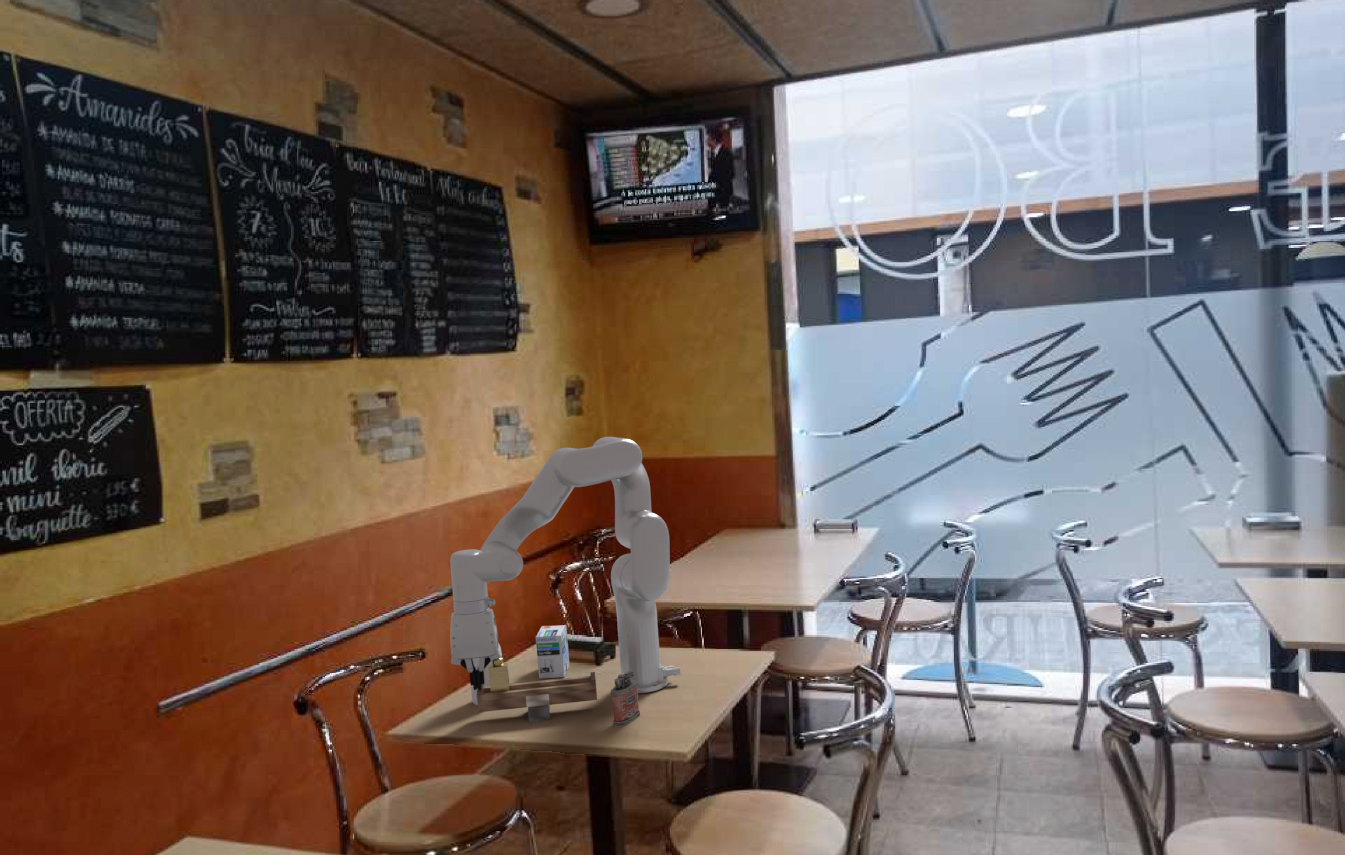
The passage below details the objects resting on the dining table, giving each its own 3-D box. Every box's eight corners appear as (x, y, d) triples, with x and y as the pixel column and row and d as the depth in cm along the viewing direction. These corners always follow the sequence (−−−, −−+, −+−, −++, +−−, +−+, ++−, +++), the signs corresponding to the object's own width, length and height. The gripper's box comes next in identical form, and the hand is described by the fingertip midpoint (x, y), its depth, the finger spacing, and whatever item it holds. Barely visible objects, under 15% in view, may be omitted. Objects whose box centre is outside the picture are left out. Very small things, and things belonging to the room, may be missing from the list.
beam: (597, 702, 228) (594, 670, 227) (598, 714, 220) (595, 681, 220) (482, 714, 225) (479, 682, 225) (479, 727, 217) (476, 693, 217)
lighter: (622, 727, 211) (619, 681, 211) (609, 725, 213) (606, 679, 213) (643, 714, 218) (640, 669, 218) (630, 712, 220) (627, 668, 219)
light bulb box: (565, 677, 248) (561, 635, 248) (538, 679, 248) (534, 637, 248) (570, 664, 259) (566, 624, 258) (544, 666, 259) (541, 625, 258)
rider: (509, 690, 223) (507, 655, 223) (509, 694, 220) (506, 659, 220) (491, 692, 223) (488, 657, 222) (490, 696, 220) (487, 661, 219)
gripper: (506, 599, 224) (512, 679, 225) (439, 605, 223) (445, 686, 224) (504, 607, 217) (511, 690, 218) (434, 613, 215) (441, 696, 216)
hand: (477, 687), depth 221 cm, fingers closed
